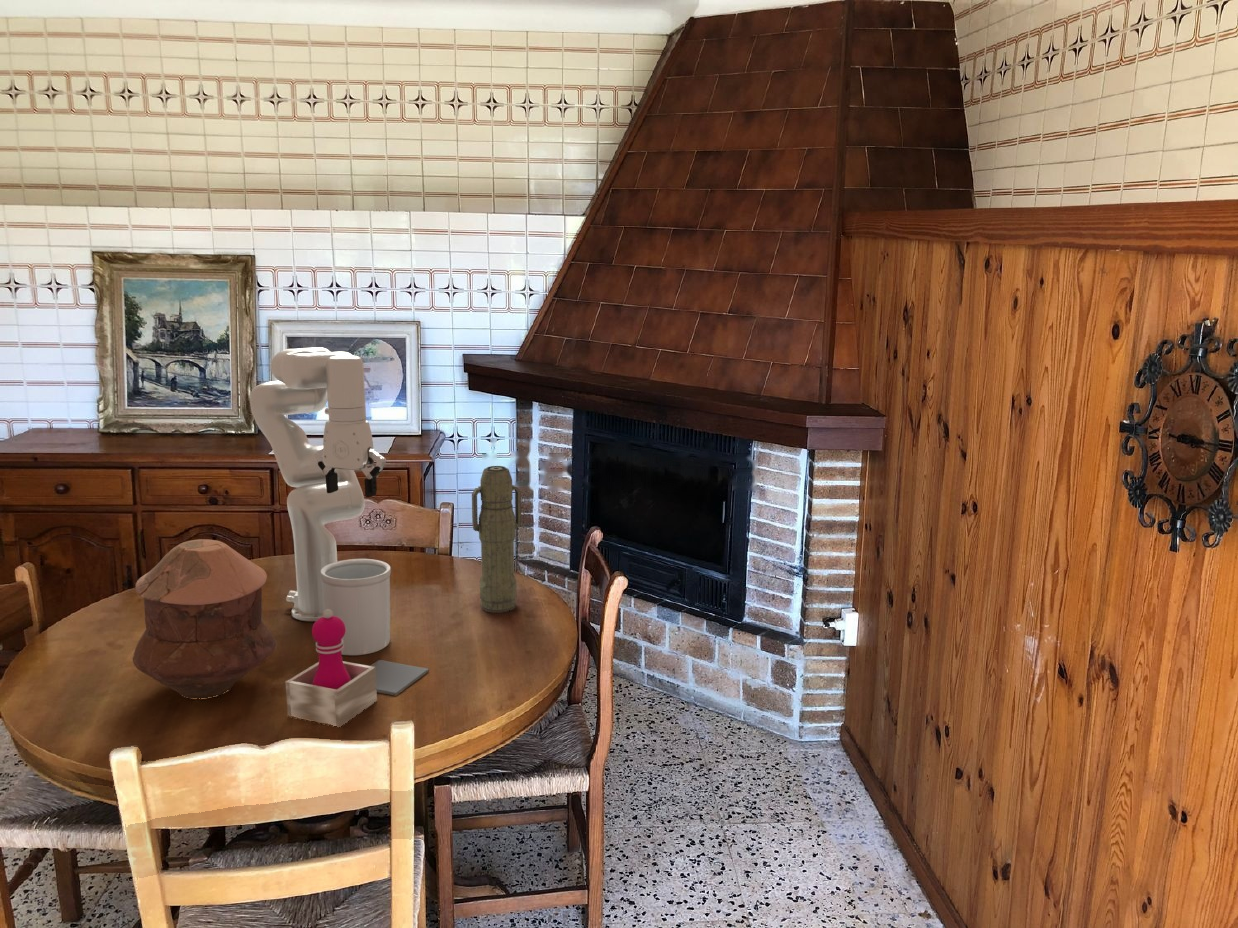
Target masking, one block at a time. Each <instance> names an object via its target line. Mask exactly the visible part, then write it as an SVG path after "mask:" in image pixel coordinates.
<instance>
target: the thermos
mask: <svg viewBox="0 0 1238 928" xmlns="http://www.w3.org/2000/svg"><path fill="white" fill-rule="evenodd" d="M479 480H480V481H479V482H480V486H478V487H475V488H474V490H473V492H472V493H471V519H472V530H473V531H475V532H478V538H479V540H480V553H481V557H480V558H481V577H480V579H479V598H480V608H481V610H483V611H484V610H485V612H487V613H494V614H495V613H497V614H500V613H507V612H510V611H513V610H514V609H516V607H517V602H516V601H517V600H516V599H517V589H518V588H517V579H516V576H515V547H514V546H515V542H514V541H515V539H516V530H517V528H518V527H520V525H522V491H521V489H520V488H519V487H518V486H517V485H515V484H513V478H512V475H511V472H510V469H509V468H508V467H506V466H502V465H491V466H487V467H486V468H484V469H483V471H482V474H481V477H480V479H479ZM513 491H515V492H514V493H515V494H514V496H515V497H514V498H515V500H514V502H515V513H514V510H513V509H514V508H513V506H514V505H513V499H514V498H513ZM479 493H480V501H481V505H480V512H479V516H478V495H479ZM515 606H516V607H515ZM509 610H510V611H509Z"/></svg>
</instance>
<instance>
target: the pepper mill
mask: <svg viewBox="0 0 1238 928" xmlns="http://www.w3.org/2000/svg"><path fill="white" fill-rule="evenodd" d="M332 615H333V612H332V611H331V610H330V609H326V610H324V612H323V616H324V617H321V618H319V619H318V620H317V621H314V623H313V625H312V628H311V636H312V638H313V639H314V641H316V642H315V651H316V652H317V653H318V662H319V665H318V669H317V672H316V675H315V677H314V679H313V684H312V685H316V686H321V687H326V688H331V689H336V690H337V689H339V688H340V687H342V686H343V685H345V684H346V683H348V682H349V681H351V679H350V676H349V674H348V672H347V670H346V668H345V666H344V664H343V655H341V652H342V649H343V648H344V646H343V640H342V638H343V637H344V635H345V631H346V629H345V624H344V622H343V621H342V620H341V619H340V618H338V617H336V616H332Z"/></svg>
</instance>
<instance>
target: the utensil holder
mask: <svg viewBox="0 0 1238 928" xmlns="http://www.w3.org/2000/svg"><path fill="white" fill-rule="evenodd" d="M391 572H392V568H391V566H390V564H389V563H387V562H385V561H382V560H378V559H374V558H373V559H370V558H352V559H343V560H337V562H334V563H331V564H329V565H326V566H325V567H323V568H322V569H321V579H322V584H323V604H324V610H326V609H330V610H331V611H332V612H333V615H332V616H336V617H338V618H340V619H341V620H342V621H343V622H344V624H345V629H346V631H345V635H344V637H343V638H342V640H343V646H344V648H343V649H342V652H341V655H342V656H362V655H368V654H372V653H376V652H379V651H381V650H383V649H385V648H386V647H387V646H388V645H389V644H390V642H391V581H390V580H391V578H390V576H391Z"/></svg>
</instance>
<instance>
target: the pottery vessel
mask: <svg viewBox="0 0 1238 928" xmlns="http://www.w3.org/2000/svg"><path fill="white" fill-rule="evenodd" d="M267 577H268V575H267V572H266V571H265V570H264V568H262V567H260V566H258V565H257V564H256V563H254V562H252V561H251V560H249V559H248V558H246V557H245V556H243V555H241V553H239V552H237V550H235V549H233V548H232V547H230V546H229V545H228V544H226V543H225V542H222V541H221V540H217V539H215V540H214V539H208V538H206V539H205V538H203V539H202V538H201V539H200V538H199V539H193V540H186V541H184V542H183V541H182V542H181V543H179V544H178V545H176V546H174V547H173V548H172V549H170V550H169V551H168V552H167V553H166V554H165V555H164V556H163V557H162V558H161V560H160V561H159V562H158V563H157V564H156V565H155V566H154V567H153V568H151V570H149V571H148V572H147V573H145V574H144V575H142V576H141V577H139V578H138V579H137V581H136V583H135V587H134V592H135V593H136V594H137V595H138V596H139V597H140V598H142V599H143V603H144V624H145V631H143V633H142V635H141V637H140V638H139V640H138V641H137V644H136V646H135V649H134V652H133V656H132V662H133V665H134V667H135V668H136V669H137V670H139V672H142V673H143V674H144V675H147V676H148V677H150V678H152V679H153V680H154V681H157V682H158V683H160V684H162V685H165V686H167V688H169V689H171V690H173V691H175V692H177V693H179V695H180V696H182V695H183V696H185V697H188V698H197V699H199V698H200V699H201V698H208V697H213V696H216V695H221V694H223V693H224V692H226V691H227V690H230V689H231V688H232V686H233V687H234V685H235V683H236V682H238V681H239V680H240V679H242V678H244V677H245V676H246V675H247V674H248V673H249V672H250V671H252V670H253V669H255V668H256V667H257V666H259V665H261V664H262V663H263V662H264V661H266V660H267V658H269V656H270V655H271V654H272V653H273V652H274V650H275V649H276V639H275V637H274V635H273V634H272V632H271V630H270V629H269V626H267V624H266V623H265V622H264V621H263V619H262V612H263V607H262V605H263V594H262V593H263V592H262V591H263V590H262V587H263V586H264V585H265V584H266V582H267ZM231 690H232V689H231ZM223 695H224V694H223ZM183 696H182V697H183ZM221 696H222V695H221ZM185 697H184V698H185Z"/></svg>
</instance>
